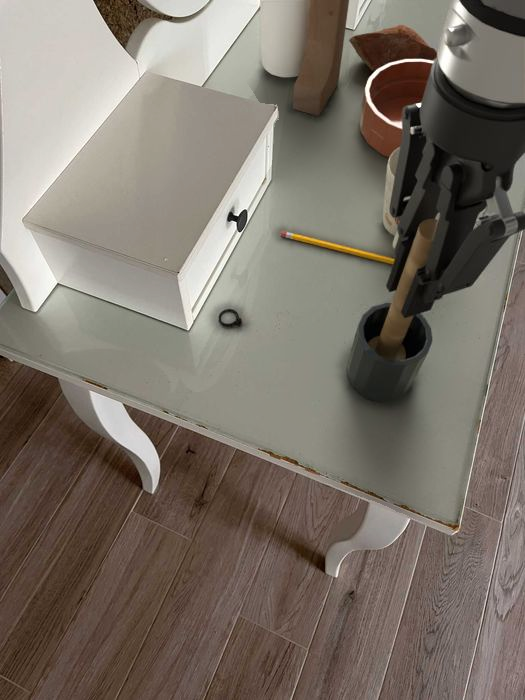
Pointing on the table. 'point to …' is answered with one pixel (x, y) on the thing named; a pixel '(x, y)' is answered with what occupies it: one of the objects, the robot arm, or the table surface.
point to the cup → (284, 35)
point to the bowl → (391, 101)
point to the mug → (388, 220)
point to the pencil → (337, 247)
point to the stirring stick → (404, 296)
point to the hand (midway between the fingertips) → (408, 297)
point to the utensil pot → (381, 373)
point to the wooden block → (321, 55)
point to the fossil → (391, 46)
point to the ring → (237, 321)
